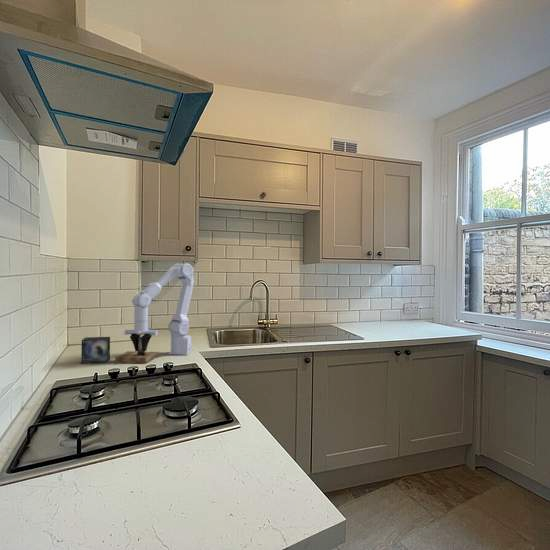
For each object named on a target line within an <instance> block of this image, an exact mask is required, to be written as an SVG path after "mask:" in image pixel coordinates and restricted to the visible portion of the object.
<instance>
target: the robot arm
mask: <svg viewBox="0 0 550 550" xmlns="http://www.w3.org/2000/svg"><path fill="white" fill-rule="evenodd" d="M194 272H195V270H194V268H193V266H192V265H191V264H190V263H174V264H173V265H172V266H170V267H169V268H168V270H167V271H166V272H165V273H164V274H163V275H162V276H161V277H160V278H159V279H157V281H156V282H149V283H148V284H147V286H146V287H145V288H144V289H143V290H140V293H137V294H135V295H134V296H133V298H132V300H131V303H132V305H133V306H134V313H133V314H134V318H133V320H134V321H133V322H134V323H133V325H134V328H133V329H125V330H124V335H125V336H127V335H130V336H129V338H130V340H131V342H132V345H133V347H134V350H135V351H136V352H137V347H138V337H142V340H143V351H145V352H147V349H148V345H149V342H150V340H151V338H152V336H157V335H158V332H159V331H158V330H157V329H156V330H155V329H149V306H150V304H151V302H152V300H153V299H155V297H156V296H157V295H159V294H160V293H161V292H162V288H163V287H164V286H165V285H167V284H168V283H169V282H170V281H171V280H172V279H174V278H177V279H179V281H180V282H181V288H180V292H179V298H178V302H177V307H176V310H175V314H174V315H173V316H172V317H171V320H170V322H169V323H168V327H167V328H168V331H169V332H170V351H169V352H168V353H167V355H172V354H173V356H174V355H175V356H176V355H181V356H187V355H188V354H189V355H190V353H191V352H192V336H191V335H187V334H188V333H189V330H190V325H189V323H190V320H189V318H188V317H187V316H188V312H189V307H190V302H191V298H192V295H193V289H194V284H195V278H194Z"/></svg>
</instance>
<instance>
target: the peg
mask: <svg viewBox="0 0 550 550" xmlns="http://www.w3.org/2000/svg"><path fill="white" fill-rule="evenodd" d="M136 352H137V356H144V355H145V352H146V351H143V340H142V336H140V337H138V347H137V351H136Z"/></svg>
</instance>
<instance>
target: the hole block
mask: <svg viewBox="0 0 550 550" xmlns="http://www.w3.org/2000/svg"><path fill="white" fill-rule="evenodd" d="M157 354H158V353H157V351H145V355H144V356H137V351H133V350H132V351H131V350H128V351H125V352H123V353H121V354H118V355H117V356H115V357H114V363H117V364H120V363H121V364H148V363H149V362H152V361H154V360H155V359H156V358H157V357H158V355H157ZM154 358H155V359H154Z"/></svg>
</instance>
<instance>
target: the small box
mask: <svg viewBox="0 0 550 550" xmlns="http://www.w3.org/2000/svg"><path fill="white" fill-rule="evenodd" d="M80 355H81V359H80V360H81V361H80V362H81V363H80V364H81V365H84V364H88V363H91V364H105V363H106V364H107V363H109V361H110V360H111V336H90V337H88V336H86V337H84V338H83V339H81V354H80Z"/></svg>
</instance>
